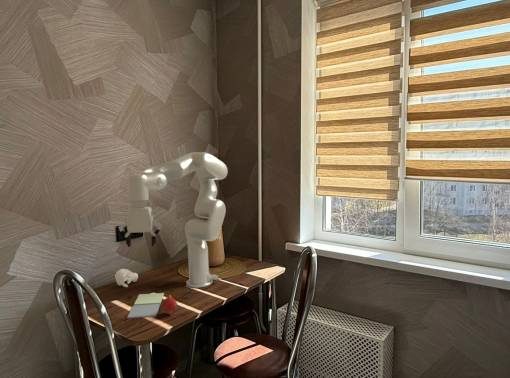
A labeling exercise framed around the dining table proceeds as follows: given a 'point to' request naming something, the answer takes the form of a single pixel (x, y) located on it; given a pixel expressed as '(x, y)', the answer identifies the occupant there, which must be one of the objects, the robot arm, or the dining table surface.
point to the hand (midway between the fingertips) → (141, 245)
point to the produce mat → (149, 299)
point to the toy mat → (144, 311)
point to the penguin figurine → (125, 277)
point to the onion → (169, 305)
